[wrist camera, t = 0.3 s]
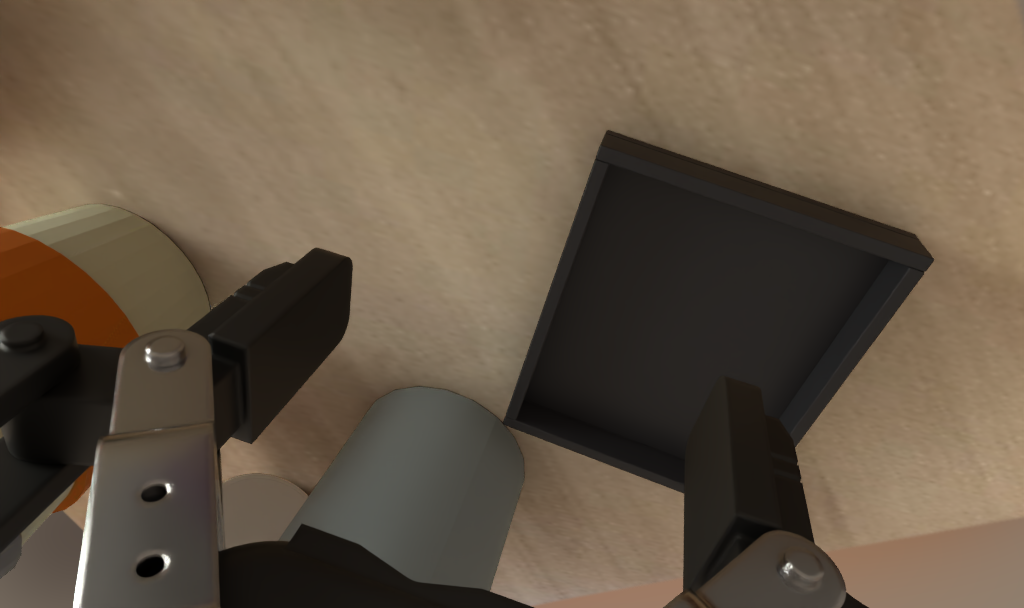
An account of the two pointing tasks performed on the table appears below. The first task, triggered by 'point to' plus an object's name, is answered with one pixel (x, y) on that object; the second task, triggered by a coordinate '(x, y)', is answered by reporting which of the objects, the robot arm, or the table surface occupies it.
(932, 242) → the table surface
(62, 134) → the table surface
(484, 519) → the spray bottle
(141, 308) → the reusable coffee cup
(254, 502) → the mug
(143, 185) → the table surface
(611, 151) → the tray
